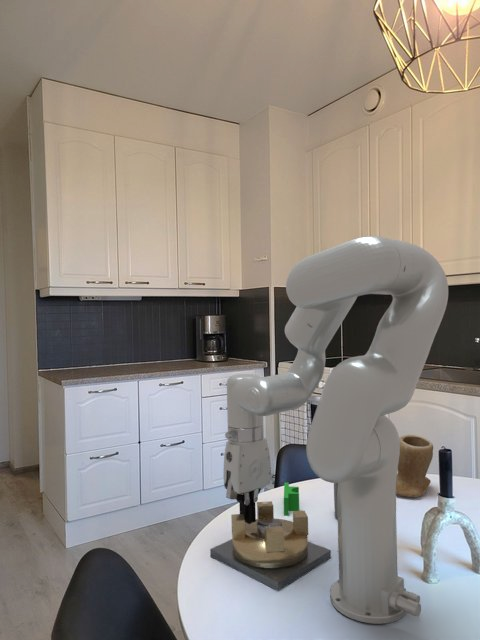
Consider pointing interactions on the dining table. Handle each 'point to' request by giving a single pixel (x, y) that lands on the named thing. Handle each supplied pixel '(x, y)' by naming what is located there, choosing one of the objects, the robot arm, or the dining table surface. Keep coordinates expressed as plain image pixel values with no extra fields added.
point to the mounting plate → (272, 576)
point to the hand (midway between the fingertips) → (247, 520)
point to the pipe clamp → (290, 499)
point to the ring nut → (270, 538)
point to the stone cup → (413, 465)
